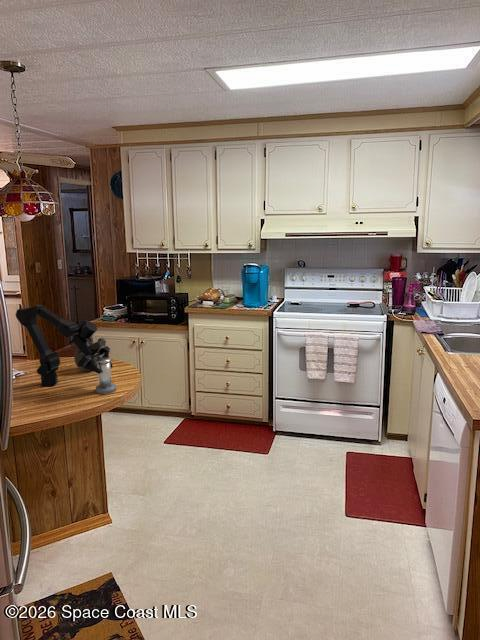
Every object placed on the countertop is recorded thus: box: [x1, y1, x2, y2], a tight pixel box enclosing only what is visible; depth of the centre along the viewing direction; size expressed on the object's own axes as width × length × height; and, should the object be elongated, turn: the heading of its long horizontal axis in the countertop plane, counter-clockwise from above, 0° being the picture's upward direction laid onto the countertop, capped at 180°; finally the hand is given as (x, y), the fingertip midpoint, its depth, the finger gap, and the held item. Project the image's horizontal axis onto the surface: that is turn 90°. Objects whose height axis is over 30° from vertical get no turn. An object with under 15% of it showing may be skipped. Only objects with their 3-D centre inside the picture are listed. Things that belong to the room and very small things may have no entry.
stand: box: [95, 383, 117, 395], centre depth 215 cm, size 9×9×2 cm
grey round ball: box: [73, 347, 102, 372], centre depth 244 cm, size 14×14×15 cm
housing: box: [96, 357, 113, 389], centre depth 213 cm, size 6×6×13 cm
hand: (106, 370), depth 213 cm, fingers open, 9 cm apart
